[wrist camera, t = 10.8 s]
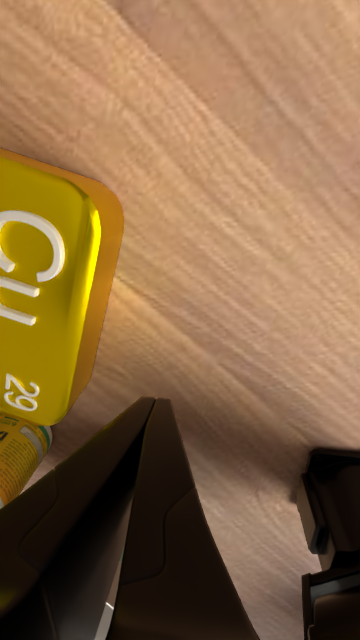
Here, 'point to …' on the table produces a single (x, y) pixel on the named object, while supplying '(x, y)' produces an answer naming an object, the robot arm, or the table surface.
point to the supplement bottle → (20, 454)
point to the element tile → (52, 284)
